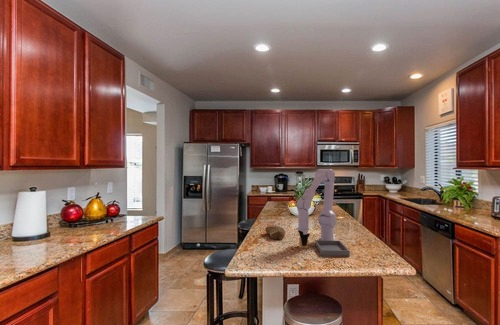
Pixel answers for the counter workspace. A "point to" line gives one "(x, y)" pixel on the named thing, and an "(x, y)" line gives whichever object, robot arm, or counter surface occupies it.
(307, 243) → the ochre block
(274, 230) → the brown rounded lump
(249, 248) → the counter surface
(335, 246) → the charcoal tray
